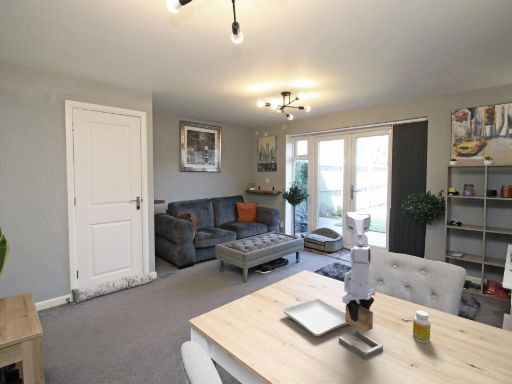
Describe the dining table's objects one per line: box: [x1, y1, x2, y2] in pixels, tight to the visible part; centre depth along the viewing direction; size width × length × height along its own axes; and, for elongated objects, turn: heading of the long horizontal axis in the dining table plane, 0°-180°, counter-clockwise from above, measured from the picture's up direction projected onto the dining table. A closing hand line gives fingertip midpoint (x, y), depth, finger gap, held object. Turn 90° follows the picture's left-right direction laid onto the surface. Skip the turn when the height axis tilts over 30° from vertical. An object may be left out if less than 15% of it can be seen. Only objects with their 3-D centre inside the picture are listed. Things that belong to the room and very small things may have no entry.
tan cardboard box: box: [345, 304, 374, 333], centre depth 97 cm, size 4×8×6 cm, turn 29°
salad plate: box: [282, 298, 350, 337], centre depth 113 cm, size 21×21×3 cm
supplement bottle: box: [412, 309, 432, 343], centre depth 101 cm, size 5×5×10 cm
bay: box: [338, 329, 384, 360], centre depth 97 cm, size 10×11×2 cm
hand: (358, 318), depth 97 cm, fingers closed on tan cardboard box, 4 cm apart
